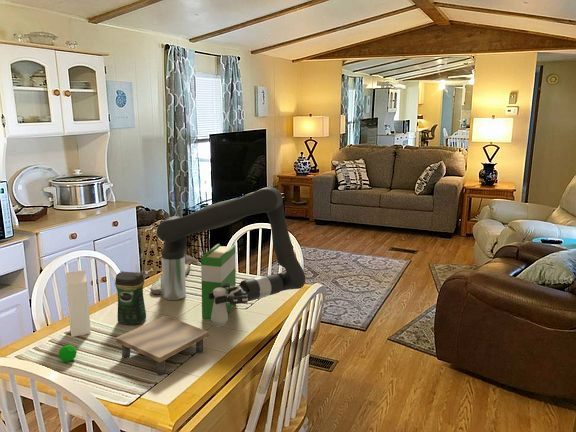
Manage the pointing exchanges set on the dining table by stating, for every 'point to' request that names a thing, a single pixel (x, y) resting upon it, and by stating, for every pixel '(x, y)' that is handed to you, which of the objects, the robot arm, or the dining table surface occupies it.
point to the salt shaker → (219, 309)
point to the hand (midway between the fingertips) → (212, 298)
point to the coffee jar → (130, 298)
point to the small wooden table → (162, 340)
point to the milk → (78, 303)
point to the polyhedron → (67, 353)
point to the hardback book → (217, 274)
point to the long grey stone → (157, 284)
